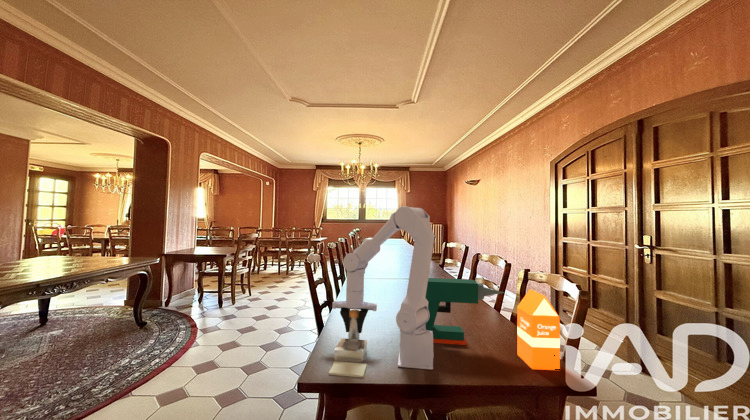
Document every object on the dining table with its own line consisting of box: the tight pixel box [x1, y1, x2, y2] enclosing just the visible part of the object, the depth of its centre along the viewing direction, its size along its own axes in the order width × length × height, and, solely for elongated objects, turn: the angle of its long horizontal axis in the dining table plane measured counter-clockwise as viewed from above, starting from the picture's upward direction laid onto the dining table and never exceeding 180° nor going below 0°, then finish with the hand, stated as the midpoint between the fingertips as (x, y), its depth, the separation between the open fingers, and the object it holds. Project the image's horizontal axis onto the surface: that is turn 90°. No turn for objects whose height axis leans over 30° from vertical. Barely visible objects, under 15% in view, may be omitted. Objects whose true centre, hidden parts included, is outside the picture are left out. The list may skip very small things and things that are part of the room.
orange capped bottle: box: [347, 309, 360, 340], centre depth 94 cm, size 4×4×10 cm
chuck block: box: [334, 338, 368, 364], centre depth 84 cm, size 8×8×3 cm
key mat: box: [328, 360, 368, 378], centre depth 76 cm, size 9×6×1 cm, turn 83°
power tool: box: [425, 277, 506, 346], centre depth 98 cm, size 32×7×20 cm, turn 84°
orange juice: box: [516, 288, 561, 371], centre depth 83 cm, size 8×9×20 cm
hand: (354, 331), depth 94 cm, fingers closed on orange capped bottle, 4 cm apart
